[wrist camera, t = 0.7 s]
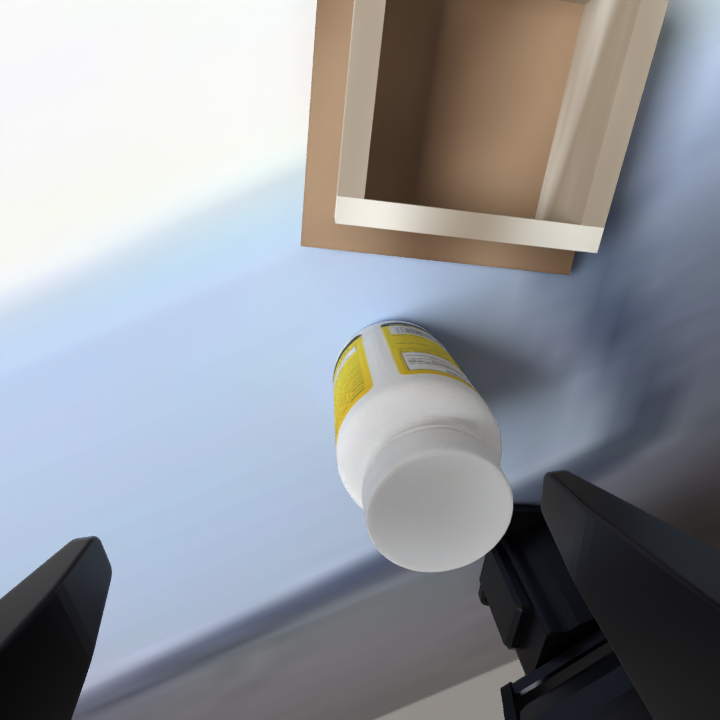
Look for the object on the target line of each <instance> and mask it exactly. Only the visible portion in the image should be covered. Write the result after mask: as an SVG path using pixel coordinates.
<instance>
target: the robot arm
mask: <svg viewBox="0 0 720 720" xmlns="http://www.w3.org/2000/svg"><path fill="white" fill-rule="evenodd" d="M111 576H112V569H111V565H110V562H109V560H108V557H107V555H106V552H105V550H104V548H103V545H102V543H101V541H100V539H99V538H98V537H96V536H90V537H83V538H77V539H74V540H72V541H70V542H69V543H68V544H67V545H65V546H64V547H63V548H62V549H61V550H59V551H58V552H57V553H56V554H54V555H53V556H52V557H51V558H50V559H48V560H47V561H46V562H45V563H44V564H42V565H41V566H40V567H39V568H37V569H36V570H35V571H34V572H33V573H31V574H30V575H29V576H28V577H26V578H25V579H24V580H23V581H22V582H20V583H19V584H18V585H17V586H16V587H14V588H13V589H12V590H11V591H9V592H8V593H7V594H6V595H5V596H3V597H2V598H1V599H0V720H71V719H72V716H73V713H74V710H75V707H76V704H77V701H78V699H79V696H80V693H81V690H82V687H83V684H84V681H85V678H86V676H87V672H88V669H89V666H90V663H91V660H92V656H93V652H94V649H95V645H96V640H97V636H98V632H99V628H100V624H101V619H102V615H103V611H104V607H105V603H106V598H107V594H108V590H109V586H110V582H111ZM479 580H480V583H481V585H480V589H479V593H478V595H479V598H480V601H481V603H482V604H484V605H487V606H489V607H490V609H491V612H492V614H493V617H494V620H495V622H496V625H497V627H498V630H499V633H500V635H501V638H502V640H503V643H504V645H505V646H506V647H507V648H508V649H511V650H516V653H517V655H518V658H519V660H520V662H521V665H522V667H523V670H524V672H525V676H524V677H522V678H520V679H519V680H517V681H516V682H514V683H512V682H509V683H508V684H507V685H505V686H503V687H502V688H501V696H502V702H503V708H504V710H503V711H504V717H505V720H720V550H718V549H716V548H714V547H712V546H710V545H708V544H706V543H704V542H702V541H700V540H699V539H697V538H695V537H693V536H691V535H689V534H687V533H685V532H683V531H681V530H679V529H678V528H676V527H674V526H672V525H670V524H668V523H666V522H664V521H662V520H660V519H658V518H657V517H655V516H653V515H651V514H649V513H647V512H645V511H643V510H641V509H639V508H637V507H636V506H634V505H632V504H630V503H628V502H626V501H624V500H622V499H620V498H618V497H616V496H615V495H613V494H611V493H609V492H607V491H605V490H603V489H601V488H599V487H597V486H595V485H594V484H592V483H590V482H588V481H586V480H584V479H582V478H580V477H578V476H576V475H574V474H573V473H571V472H569V471H566V470H559V471H552V472H548V473H546V474H545V476H544V480H543V488H542V495H541V508H536V507H518V506H513V512H512V517H511V521H510V524H509V526H508V528H507V530H506V532H505V534H504V535H503V537H502V538H501V540H500V541H499V542H498V543H497V544H496V545H495V547H493V548H492V549H491V550H490V551H489V552H488V553H486V556H485V560H484V564H483V567H482V571H481V575H480V579H479Z"/></svg>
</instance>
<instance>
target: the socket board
mask: <svg viewBox="0 0 720 720" xmlns="http://www.w3.org/2000/svg"><path fill="white" fill-rule="evenodd" d="M668 3H669V0H317V11H316V26H315V40H314V55H313V70H312V85H311V100H310V115H309V129H308V144H307V159H306V174H305V189H304V204H303V219H302V233H301V246H306V247H315V248H324V249H334V250H343V251H352V252H361V253H371V254H380V255H389V256H398V257H407V258H417V259H426V260H435V261H444V262H454V263H463V264H472V265H481V266H490V267H500V268H509V269H518V270H527V271H537V272H546V273H555V274H564V275H569V274H570V271H571V267H572V263H573V259H574V256H575V252H576V251H582V252H591V253H597V252H598V248H599V245H600V241H601V238H602V234H603V231H604V227H605V224H606V220H607V217H608V213H609V210H610V206H611V203H612V199H613V196H614V192H615V189H616V185H617V182H618V178H619V175H620V171H621V167H622V164H623V160H624V157H625V153H626V150H627V146H628V143H629V139H630V136H631V132H632V129H633V125H634V122H635V118H636V115H637V111H638V108H639V104H640V101H641V97H642V94H643V90H644V87H645V83H646V80H647V76H648V73H649V69H650V66H651V62H652V59H653V55H654V52H655V48H656V45H657V41H658V38H659V34H660V31H661V27H662V24H663V20H664V17H665V13H666V10H667V6H668Z"/></svg>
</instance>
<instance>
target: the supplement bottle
mask: <svg viewBox="0 0 720 720" xmlns="http://www.w3.org/2000/svg"><path fill="white" fill-rule="evenodd" d="M333 393H334V409H335V411H334V413H335V433H336V458H337V465H338V470H339V474H340V477H341V480H342V482H343V484H344V486H345V488H346V490H347V491H348V493H349V494H350V496H351V497H352V498H353V500H354V501H355V502H356V503H357V504H358V505H359V506H360V507H361V508H362V509H363V510H364V515H365V521H366V526H367V530H368V533H369V536H370V538H371V540H372V542H373V543H374V545H375V546H376V548H377V549H378V550H379V551H380V553H381V554H382V555H384V556H385V557H386V558H387V559H389V560H390V561H392V562H393V563H395V564H397V565H399V566H401V567H404V568H407V569H411V570H414V571H420V572H442V571H448V570H452V569H456V568H460V567H463V566H465V565H468V564H470V563H472V562H474V561H476V560H478V559H479V558H481V557H482V556H484V555H485V554H486V553H488V552H489V551H490V550H491V549H492V548H493V547H495V545H496V544H497V543H498V542H499V541H500V540H501V538H502V537H503V535H504V534H505V532H506V530H507V528H508V526H509V524H510V521H511V517H512V512H513V495H512V490H511V487H510V484H509V482H508V480H507V478H506V476H505V474H504V473H503V471H502V469H501V467H500V466H499V465H500V460H501V450H502V446H501V436H500V431H499V428H498V425H497V423H496V420H495V418H494V416H493V414H492V412H491V411H490V409H489V407H488V406H487V404H486V402H485V401H484V400H483V398H482V397H481V396H480V394H479V393H478V392H477V391H476V389H475V388H474V387H473V385H472V384H471V383H470V381H469V380H468V378H467V377H466V376H465V374H464V373H463V372H462V370H461V369H460V368H459V366H458V365H457V364H456V362H455V361H454V360H453V358H452V357H451V356H450V354H449V353H448V352H447V350H446V349H445V348H444V346H443V345H442V344H441V343H440V341H439V340H438V339H437V338H436V337H435V336H434V335H432V334H431V333H430V332H429V331H427V330H426V329H424V328H422V327H421V326H418V325H416V324H413V323H409V322H405V321H395V320H394V321H383V322H379V323H375V324H372V325H370V326H368V327H366V328H364V329H362V330H360V331H359V332H357V333H356V334H355V335H354V336H352V337H351V338H350V339H349V340H348V341H347V343H346V344H345V345H344V347H343V348H342V350H341V351H340V353H339V355H338V357H337V360H336V363H335V367H334V373H333Z"/></svg>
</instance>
